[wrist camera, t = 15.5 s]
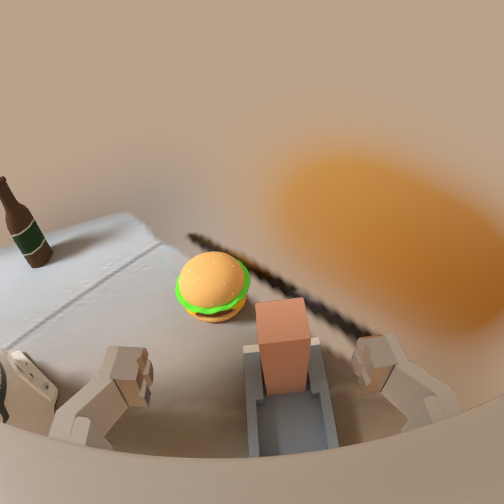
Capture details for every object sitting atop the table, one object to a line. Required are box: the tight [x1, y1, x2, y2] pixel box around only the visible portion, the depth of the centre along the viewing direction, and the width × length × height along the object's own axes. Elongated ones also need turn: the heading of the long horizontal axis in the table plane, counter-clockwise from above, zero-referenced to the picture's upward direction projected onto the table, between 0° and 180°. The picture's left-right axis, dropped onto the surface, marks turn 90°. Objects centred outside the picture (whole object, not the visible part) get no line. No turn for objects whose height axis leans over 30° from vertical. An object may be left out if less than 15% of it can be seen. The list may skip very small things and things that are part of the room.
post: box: [255, 297, 311, 396], centre depth 35 cm, size 5×5×14 cm
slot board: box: [243, 337, 339, 458], centre depth 36 cm, size 17×10×3 cm, turn 3°
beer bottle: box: [0, 176, 52, 268], centre depth 58 cm, size 8×8×24 cm
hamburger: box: [175, 251, 250, 322], centre depth 49 cm, size 12×12×9 cm
